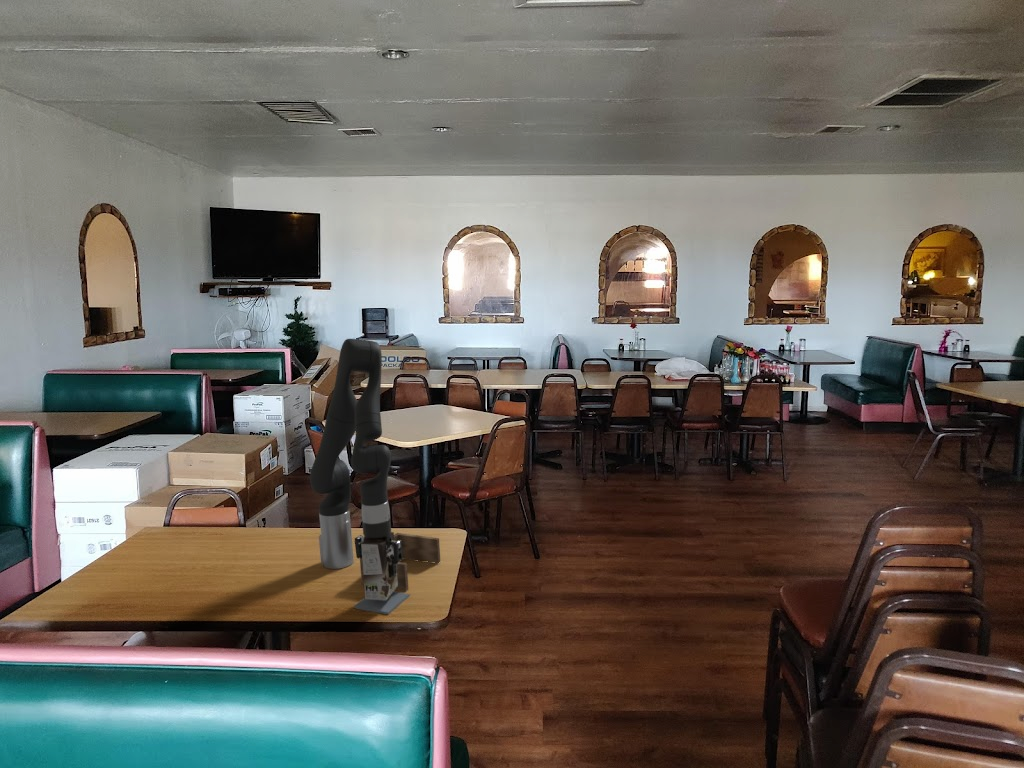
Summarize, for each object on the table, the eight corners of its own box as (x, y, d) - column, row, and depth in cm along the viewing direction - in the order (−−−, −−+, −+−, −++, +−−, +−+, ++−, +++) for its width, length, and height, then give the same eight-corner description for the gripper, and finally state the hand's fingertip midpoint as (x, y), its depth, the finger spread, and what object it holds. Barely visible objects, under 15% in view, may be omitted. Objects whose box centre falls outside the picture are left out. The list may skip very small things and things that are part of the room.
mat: (354, 608, 189) (353, 606, 189) (376, 590, 199) (376, 588, 199) (388, 614, 185) (388, 612, 185) (409, 596, 195) (409, 594, 195)
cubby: (361, 583, 204) (359, 558, 202) (398, 556, 222) (397, 532, 221) (406, 591, 198) (404, 564, 196) (440, 562, 216) (439, 538, 215)
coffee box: (387, 601, 187) (382, 544, 184) (364, 599, 188) (359, 543, 185) (399, 585, 195) (394, 531, 193) (377, 584, 197) (373, 530, 194)
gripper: (345, 519, 187) (350, 577, 190) (391, 525, 182) (395, 584, 185) (361, 510, 194) (366, 565, 197) (406, 515, 189) (410, 572, 191)
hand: (380, 574), depth 191 cm, fingers closed on coffee box, 7 cm apart
